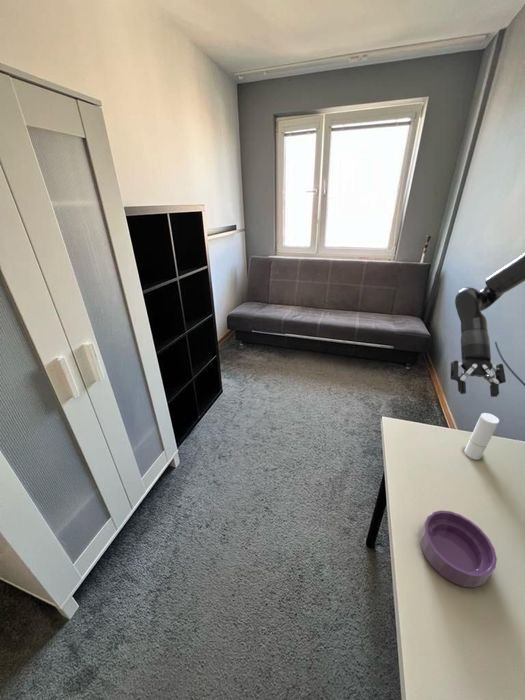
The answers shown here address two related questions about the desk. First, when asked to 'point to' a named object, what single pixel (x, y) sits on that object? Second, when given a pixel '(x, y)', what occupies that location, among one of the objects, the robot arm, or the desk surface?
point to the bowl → (457, 549)
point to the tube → (481, 435)
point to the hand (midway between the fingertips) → (478, 395)
